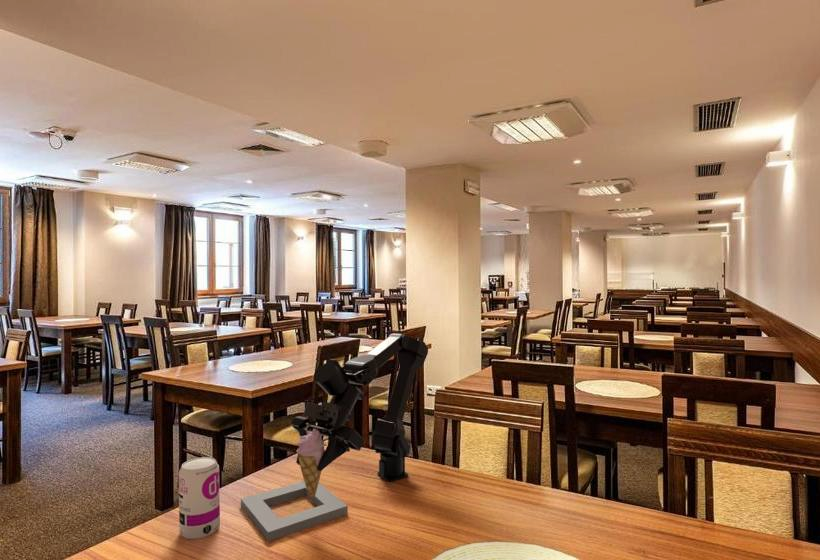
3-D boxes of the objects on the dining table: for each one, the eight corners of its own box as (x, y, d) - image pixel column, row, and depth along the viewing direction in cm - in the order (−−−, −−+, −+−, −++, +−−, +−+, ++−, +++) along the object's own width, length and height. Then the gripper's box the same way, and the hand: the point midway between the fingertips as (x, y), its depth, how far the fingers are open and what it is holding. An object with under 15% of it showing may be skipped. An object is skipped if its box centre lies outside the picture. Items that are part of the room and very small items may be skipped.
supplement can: (228, 524, 109) (226, 458, 109) (201, 543, 101) (199, 472, 101) (199, 518, 112) (198, 454, 111) (171, 537, 104) (169, 468, 104)
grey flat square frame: (313, 485, 128) (313, 478, 128) (347, 514, 113) (347, 505, 113) (240, 506, 117) (240, 498, 117) (268, 541, 102) (267, 532, 102)
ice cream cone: (333, 493, 110) (332, 428, 110) (316, 505, 105) (315, 436, 104) (309, 487, 113) (308, 424, 113) (292, 499, 107) (291, 432, 107)
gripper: (295, 382, 117) (259, 441, 108) (353, 392, 106) (319, 459, 97) (319, 407, 124) (287, 464, 115) (376, 418, 113) (346, 482, 104)
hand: (308, 467), depth 108 cm, fingers closed on ice cream cone, 6 cm apart
